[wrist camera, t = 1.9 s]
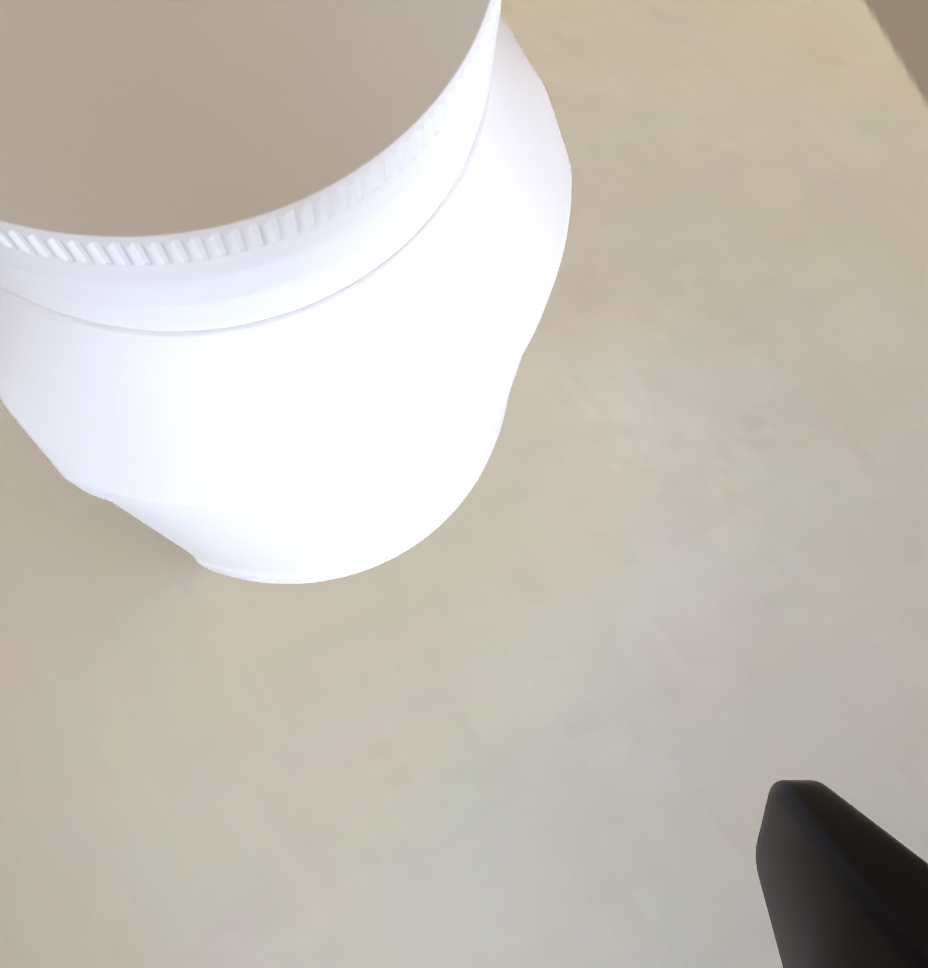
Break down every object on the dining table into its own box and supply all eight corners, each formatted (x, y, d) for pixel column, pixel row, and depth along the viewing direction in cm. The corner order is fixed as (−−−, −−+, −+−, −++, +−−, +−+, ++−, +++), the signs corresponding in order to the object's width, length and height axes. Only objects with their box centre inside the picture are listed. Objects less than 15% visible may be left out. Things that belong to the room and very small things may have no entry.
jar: (33, 303, 24) (-516, -274, 10) (327, 136, 26) (231, -565, 12) (261, 652, 23) (7, 578, 8) (560, 447, 24) (790, 84, 10)
